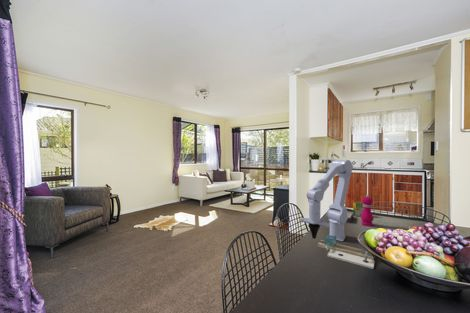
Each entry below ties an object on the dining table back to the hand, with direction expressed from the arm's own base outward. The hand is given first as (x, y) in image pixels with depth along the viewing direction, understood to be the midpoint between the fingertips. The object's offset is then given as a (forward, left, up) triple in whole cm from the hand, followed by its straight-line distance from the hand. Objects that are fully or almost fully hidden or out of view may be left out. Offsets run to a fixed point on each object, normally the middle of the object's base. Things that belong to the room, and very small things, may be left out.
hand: (314, 237), depth 114 cm
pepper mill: (-50, +20, -3) cm, 54 cm away
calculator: (-55, +5, -4) cm, 55 cm away
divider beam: (+2, +15, -3) cm, 15 cm away
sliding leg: (+3, +8, -2) cm, 9 cm away
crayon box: (-70, +13, -3) cm, 71 cm away
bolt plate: (+7, +18, -3) cm, 20 cm away
